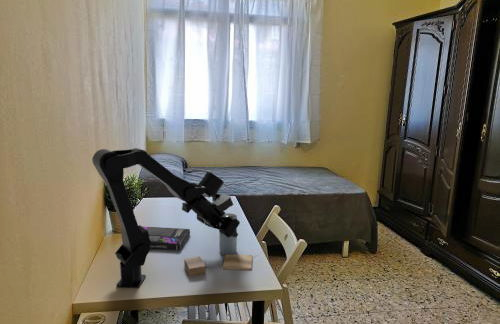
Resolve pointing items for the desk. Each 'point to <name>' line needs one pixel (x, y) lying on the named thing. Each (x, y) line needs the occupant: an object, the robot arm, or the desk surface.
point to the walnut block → (195, 266)
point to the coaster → (238, 262)
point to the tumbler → (227, 241)
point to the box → (167, 238)
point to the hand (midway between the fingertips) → (231, 232)
